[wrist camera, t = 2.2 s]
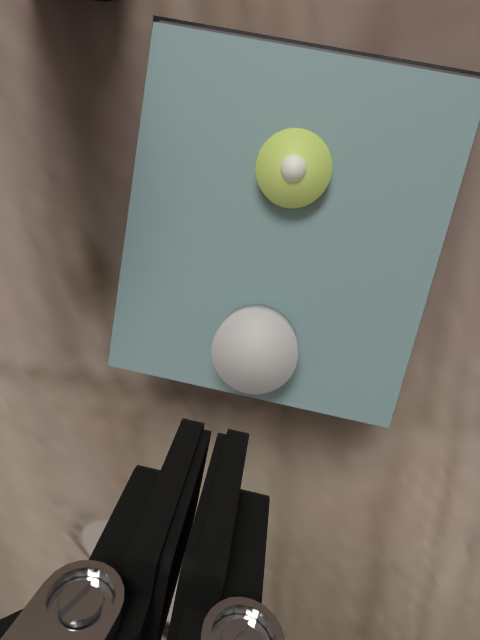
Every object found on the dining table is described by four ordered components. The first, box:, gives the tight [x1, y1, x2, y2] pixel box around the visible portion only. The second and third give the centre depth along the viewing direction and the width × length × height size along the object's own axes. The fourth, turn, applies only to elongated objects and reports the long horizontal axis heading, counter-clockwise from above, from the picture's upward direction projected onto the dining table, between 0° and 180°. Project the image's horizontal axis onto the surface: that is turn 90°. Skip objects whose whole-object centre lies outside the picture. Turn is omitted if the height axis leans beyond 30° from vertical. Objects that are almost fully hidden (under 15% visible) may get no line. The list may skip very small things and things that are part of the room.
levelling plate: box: [108, 20, 480, 428], centre depth 25 cm, size 20×18×4 cm
